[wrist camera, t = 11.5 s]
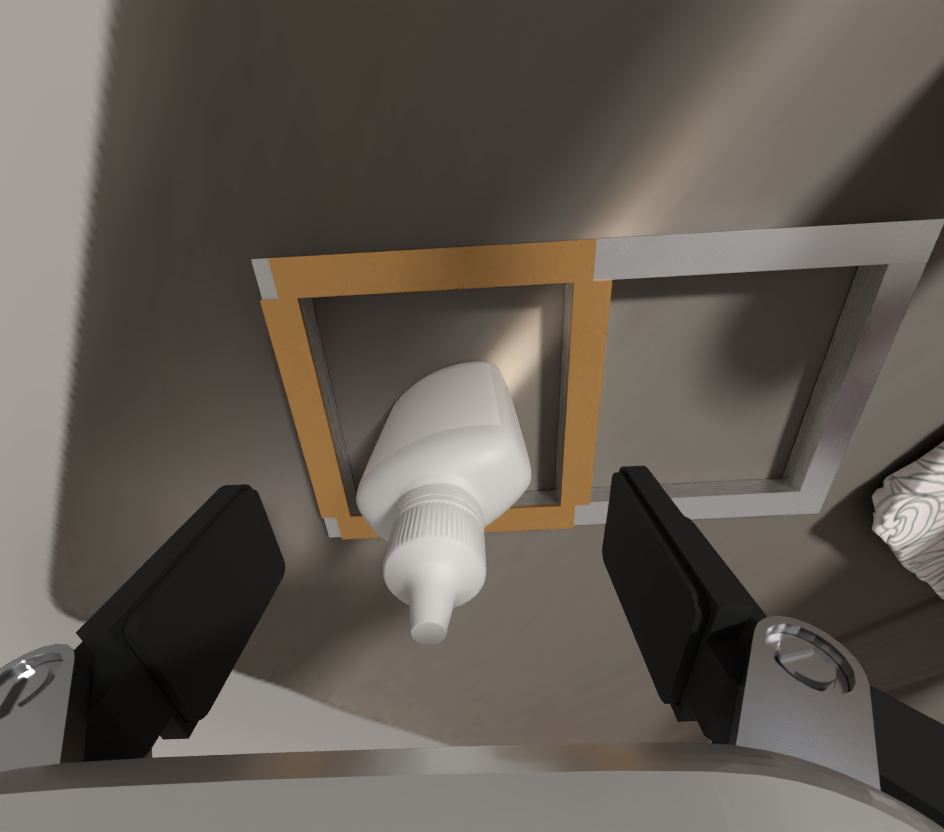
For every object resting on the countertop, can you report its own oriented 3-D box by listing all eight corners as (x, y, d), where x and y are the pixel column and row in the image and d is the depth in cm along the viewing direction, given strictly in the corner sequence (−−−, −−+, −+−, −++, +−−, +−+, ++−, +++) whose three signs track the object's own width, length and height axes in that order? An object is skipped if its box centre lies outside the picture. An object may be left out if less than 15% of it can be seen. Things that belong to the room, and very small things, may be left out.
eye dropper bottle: (393, 352, 17) (264, 542, 6) (513, 361, 17) (593, 557, 6) (394, 436, 19) (297, 695, 8) (503, 442, 19) (551, 702, 8)
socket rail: (266, 258, 15) (248, 259, 14) (911, 220, 15) (952, 218, 14) (336, 522, 21) (327, 540, 20) (800, 498, 21) (822, 515, 20)
